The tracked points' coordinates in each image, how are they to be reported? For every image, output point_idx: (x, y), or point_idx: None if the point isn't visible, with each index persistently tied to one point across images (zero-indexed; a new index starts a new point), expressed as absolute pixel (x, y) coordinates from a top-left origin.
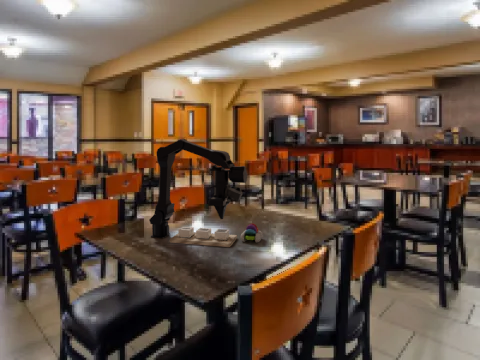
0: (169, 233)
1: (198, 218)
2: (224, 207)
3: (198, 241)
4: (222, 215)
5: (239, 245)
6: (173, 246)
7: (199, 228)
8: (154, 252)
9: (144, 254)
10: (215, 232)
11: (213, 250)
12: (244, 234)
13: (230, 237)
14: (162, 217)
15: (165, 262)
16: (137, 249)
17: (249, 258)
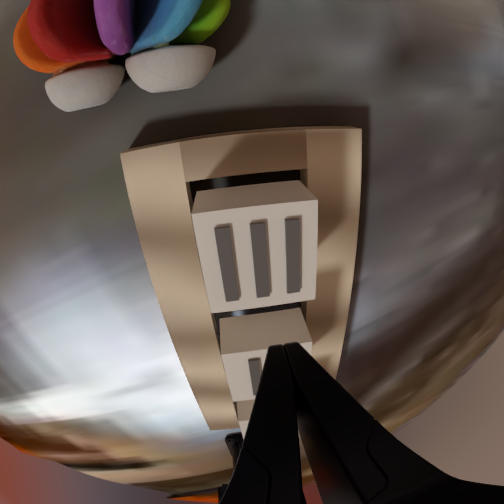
0: (231, 439)
1: (13, 410)
2: (419, 493)
3: (345, 325)
4: (330, 383)
5: (294, 68)
6: (368, 372)
7: (248, 399)
8: (422, 374)
9: (432, 379)
10: (313, 291)
11: (417, 206)
12: (187, 46)
13: (206, 175)
14: (303, 498)
15: (495, 303)
16: (392, 412)
17: (467, 11)
